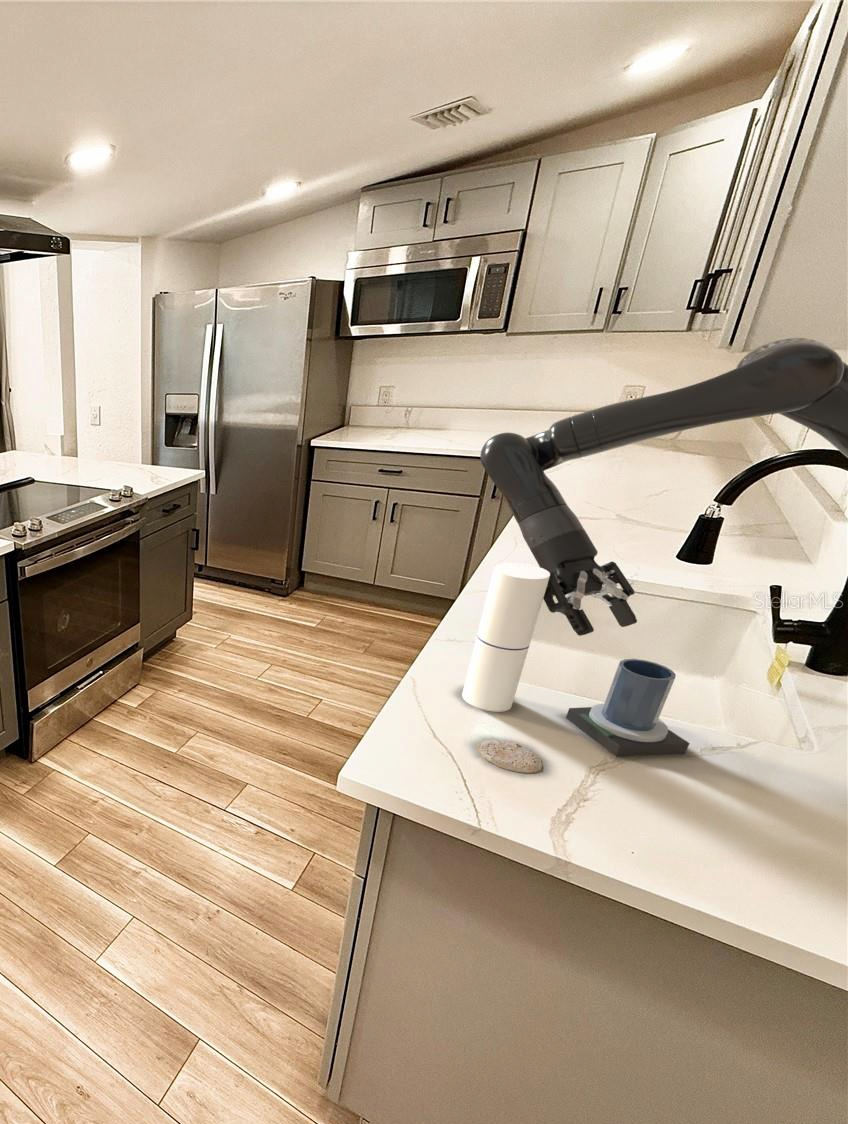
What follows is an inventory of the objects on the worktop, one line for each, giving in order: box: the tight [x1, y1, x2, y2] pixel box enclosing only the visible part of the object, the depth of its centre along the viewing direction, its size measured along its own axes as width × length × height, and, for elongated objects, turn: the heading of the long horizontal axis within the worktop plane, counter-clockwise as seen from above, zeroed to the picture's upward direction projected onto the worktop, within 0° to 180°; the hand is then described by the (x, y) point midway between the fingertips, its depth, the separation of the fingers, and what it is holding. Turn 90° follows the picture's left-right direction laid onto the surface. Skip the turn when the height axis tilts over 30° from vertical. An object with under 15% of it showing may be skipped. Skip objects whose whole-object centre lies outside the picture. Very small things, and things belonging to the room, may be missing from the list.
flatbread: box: [476, 740, 543, 774], centre depth 93 cm, size 8×8×1 cm
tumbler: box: [602, 658, 677, 731], centre depth 93 cm, size 6×6×9 cm
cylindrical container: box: [461, 562, 550, 713], centre depth 102 cm, size 7×7×25 cm
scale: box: [565, 702, 690, 758], centre depth 96 cm, size 10×10×4 cm
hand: (608, 629), depth 96 cm, fingers open, 8 cm apart
